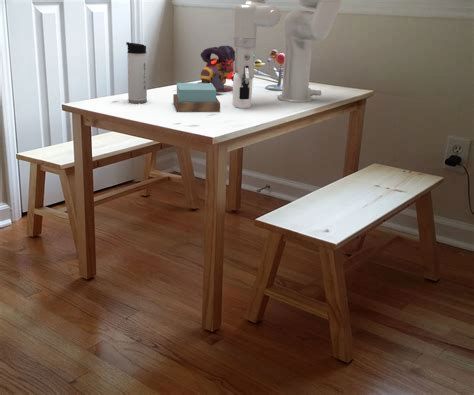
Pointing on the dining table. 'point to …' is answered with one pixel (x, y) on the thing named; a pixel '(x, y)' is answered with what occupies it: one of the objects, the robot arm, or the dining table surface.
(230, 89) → the figurine
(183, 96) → the tower top block
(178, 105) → the tower base block
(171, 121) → the dining table surface
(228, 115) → the dining table surface
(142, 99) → the travel mug
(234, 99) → the can
